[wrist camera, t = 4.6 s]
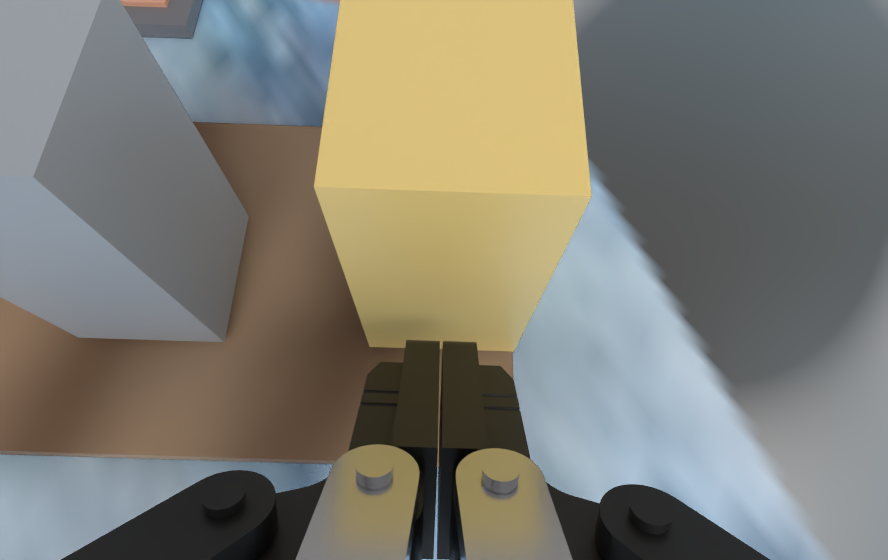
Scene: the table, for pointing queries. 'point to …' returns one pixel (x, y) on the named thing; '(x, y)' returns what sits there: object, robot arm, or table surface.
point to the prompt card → (164, 17)
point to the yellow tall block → (452, 163)
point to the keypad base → (215, 343)
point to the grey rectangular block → (107, 183)
